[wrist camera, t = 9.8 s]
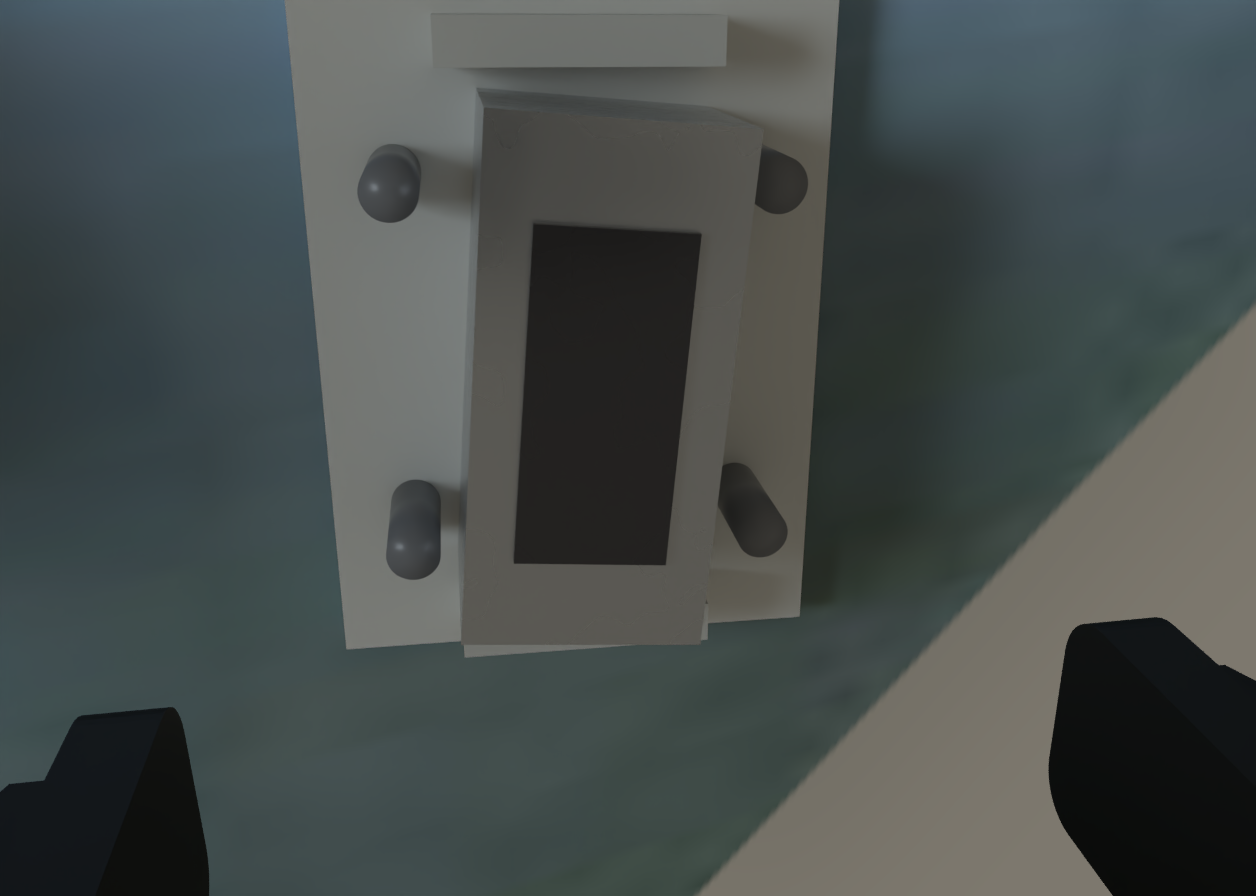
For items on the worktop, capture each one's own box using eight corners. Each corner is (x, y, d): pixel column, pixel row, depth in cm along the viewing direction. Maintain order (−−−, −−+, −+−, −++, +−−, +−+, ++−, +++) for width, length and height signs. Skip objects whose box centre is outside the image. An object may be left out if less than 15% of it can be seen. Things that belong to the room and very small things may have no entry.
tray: (288, -23, 25) (262, -27, 21) (826, -19, 27) (888, -22, 23) (349, 629, 31) (337, 715, 27) (789, 598, 33) (833, 675, 29)
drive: (475, 87, 26) (484, 108, 21) (707, 105, 26) (765, 130, 22) (457, 543, 29) (461, 648, 25) (660, 546, 30) (701, 648, 25)
